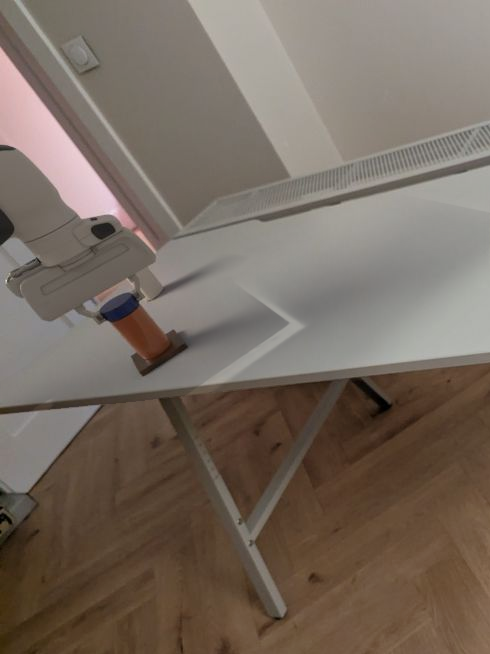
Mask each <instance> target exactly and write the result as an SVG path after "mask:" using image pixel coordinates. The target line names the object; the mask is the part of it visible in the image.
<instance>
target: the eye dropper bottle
mask: <svg viewBox="0 0 490 654" xmlns="http://www.w3.org/2000/svg"><path fill="white" fill-rule="evenodd" d="M135 274H136V276H137V277H138V278H139V283H140V291H141V292H142V293H143V294H144V296H145V298H144V299H143V301H144V302H149V301H152V300H154V299H156V298H158V296H159V295H160V294H161V293H162V291H163V290H164V286H163V284H162V283H161V282H160V281H159V279H158V278H157V277H156V276H155V274H154V273H153V272H152V270H150V268H149V266H148V267H146V268H144V269H142V270H141V271H139V272H137V273H135ZM126 280H127V282H128V283H129V284H130V286H132V288H134V284H133V282H130V280H129V279H128V278H127V279H126Z"/></svg>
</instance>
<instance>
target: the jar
mask: <svg viewBox="0 0 490 654" xmlns="http://www.w3.org/2000/svg"><path fill="white" fill-rule="evenodd" d="M109 324H110V325H111V326H112V327H113V328H114V329H115V330H116V331H117V333H119V335H120V336H121V337H122V338H123V339H124V340H125V341H126V343H128V345H129V346H130V347H131V348H132V349H133V350H134V351H135V353H136V352H137V353H138V354H139V355H140V356H141V358H142V359H144V360H147V359H151V358H154V357H156V356H158V355H159V354H161V353H162V352H164V351H165V350H166V349H167V348H168V347H169V346H170V344H171V340H170V339H169V338H168V336H167V335H166V332H165V331H164V330H163V329H162V328H161V327H160V326H159V324H158V323H157V322H156V321H155V319H153V318H152V316H151V315H150V314H149V312H148V311H147V310H146V309H145V308H144V307H143V306H142V305H141V303H140V302H139V305H138V306H137V308H136V309H135V310H133V311H132V312H131V313H129V314H128V315H126V316H125V317H123V318H121V319H119V320H116V321H112V322H109Z"/></svg>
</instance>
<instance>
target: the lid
mask: <svg viewBox="0 0 490 654" xmlns="http://www.w3.org/2000/svg"><path fill="white" fill-rule="evenodd" d="M139 303H140V301H139V302H138V301H137V300H136V298H135V297H134V296H133V295H132V294H131V291H129V292H123V293H121V294H118V295H116V296H114V297H113V298H111V299H109V300H108V301H106V302H105V303H103V305H102V306H101V307H100V308H99V310H98V311H99V312H100V313H101V314H102V316H103V317H104V318H105V319H106V321H105V322H108V323H110V322H112V321H116V320H119V319H121V318H123V317H125V316H126V315H128V314H129V313H131V312H132V311H133V310H135V309H136V308H137V306H138V305H139Z"/></svg>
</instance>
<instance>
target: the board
mask: <svg viewBox="0 0 490 654" xmlns="http://www.w3.org/2000/svg"><path fill="white" fill-rule="evenodd" d="M165 334H166V335H167V336H168V338H169V339H170V340H171V344H170V346H169V347H168V348H167V349H166V350H165V351H164V352H162V353H161V354H159V355H158V356H156V357H154V358H151V359H147V360H144V359H142V358H141V356H140V355H139V354H138V353H137V352H136V351H135V352H134V353H133V354H131V355H130V358H131V360H132V362H133V364H134V366H135V367H136V369H137V371H138V373H139V374H140V375H141V376H142V377H144V376H146V375H147V374H148V373H150V372H152V371H153V370H154V369H156V368H158V367H159V366H160V365H162V364H164V363H166V362H167V361H169V360H170V359H172V358H173V357H175V356H176V355H178V354H179V353H181V352H182V351H184V350H186V349H187V348H188V345H187V344H186V343H185V341H184V340H183V339H182V338H181V336H180V335H179V334H178V332H176V330H175V329H174V328H172V330H170V331H168V332H165Z"/></svg>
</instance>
